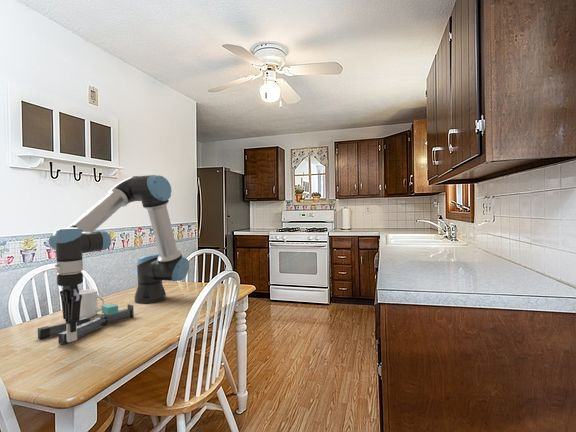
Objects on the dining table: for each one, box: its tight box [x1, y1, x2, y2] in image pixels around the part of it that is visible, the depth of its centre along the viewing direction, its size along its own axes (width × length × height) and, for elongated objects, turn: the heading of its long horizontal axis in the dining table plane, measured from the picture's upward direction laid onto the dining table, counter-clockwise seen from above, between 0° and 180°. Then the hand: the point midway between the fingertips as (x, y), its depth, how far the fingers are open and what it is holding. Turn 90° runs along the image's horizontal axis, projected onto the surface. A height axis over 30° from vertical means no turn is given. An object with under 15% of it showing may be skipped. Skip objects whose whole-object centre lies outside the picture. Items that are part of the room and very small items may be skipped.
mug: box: [78, 288, 105, 319], centre depth 151 cm, size 9×12×11 cm
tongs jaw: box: [57, 318, 103, 345], centre depth 126 cm, size 17×3×4 cm, turn 166°
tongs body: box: [37, 303, 135, 340], centre depth 136 cm, size 33×6×5 cm, turn 141°
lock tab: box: [101, 302, 119, 315], centre depth 141 cm, size 4×6×3 cm, turn 51°
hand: (71, 340), depth 118 cm, fingers closed
